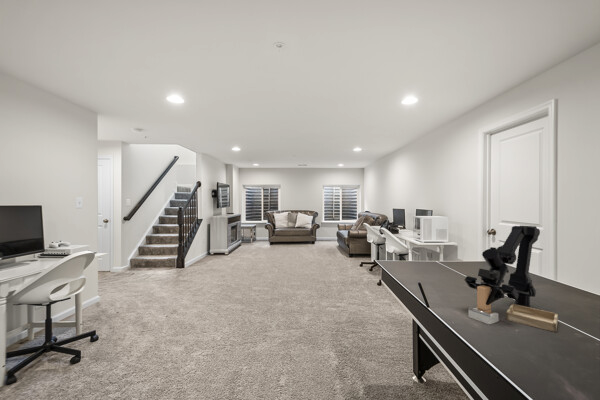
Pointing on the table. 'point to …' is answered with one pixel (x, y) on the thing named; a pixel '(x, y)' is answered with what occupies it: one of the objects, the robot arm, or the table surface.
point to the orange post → (483, 298)
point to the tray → (532, 317)
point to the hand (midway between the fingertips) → (482, 303)
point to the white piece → (483, 316)
